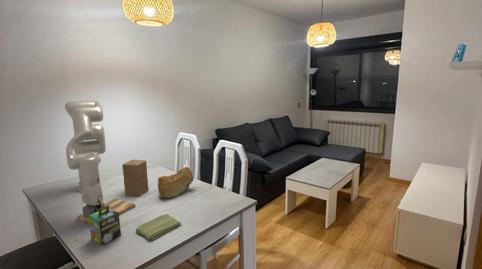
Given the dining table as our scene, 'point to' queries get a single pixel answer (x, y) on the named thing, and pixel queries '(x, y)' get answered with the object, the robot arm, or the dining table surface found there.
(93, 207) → the block
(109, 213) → the chalk box
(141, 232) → the washcloth
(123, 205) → the board
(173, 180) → the rough brown rock
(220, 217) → the dining table surface
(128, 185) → the wooden block
